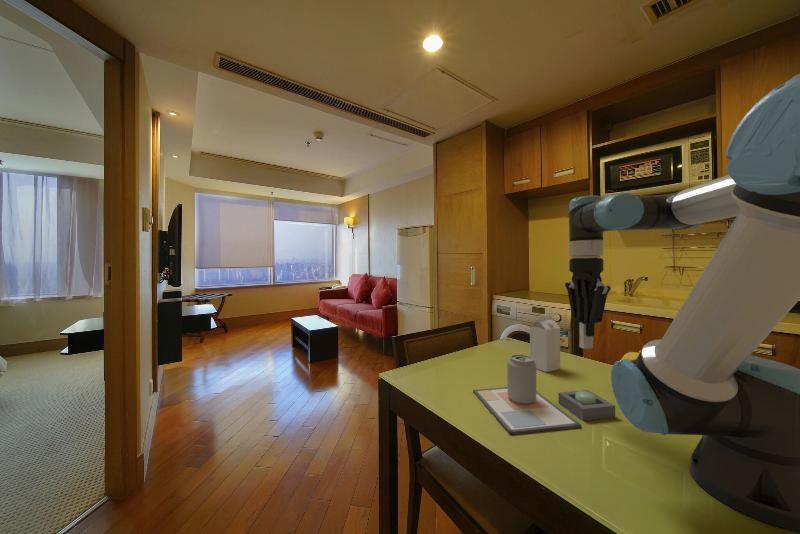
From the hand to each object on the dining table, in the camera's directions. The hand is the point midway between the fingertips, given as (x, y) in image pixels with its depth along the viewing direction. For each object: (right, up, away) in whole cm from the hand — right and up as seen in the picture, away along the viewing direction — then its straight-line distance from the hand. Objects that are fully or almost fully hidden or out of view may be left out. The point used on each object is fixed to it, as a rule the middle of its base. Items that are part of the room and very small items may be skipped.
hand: (586, 347), depth 77 cm
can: (-14, -16, +6) cm, 23 cm away
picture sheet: (-16, -17, +3) cm, 23 cm away
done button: (0, -16, +1) cm, 16 cm away
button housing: (0, -17, +1) cm, 17 cm away
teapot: (+22, -16, +8) cm, 28 cm away
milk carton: (+4, -16, +31) cm, 35 cm away
